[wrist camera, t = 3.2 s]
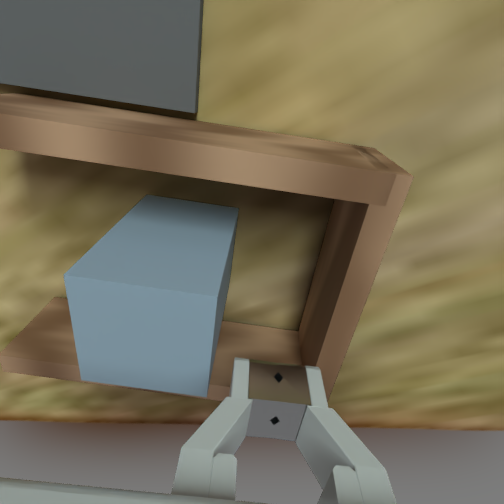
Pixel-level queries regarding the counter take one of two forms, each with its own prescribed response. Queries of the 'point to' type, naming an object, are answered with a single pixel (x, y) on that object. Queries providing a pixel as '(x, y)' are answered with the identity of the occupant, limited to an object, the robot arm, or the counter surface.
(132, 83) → the pad
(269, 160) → the frame
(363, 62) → the counter surface
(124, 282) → the block
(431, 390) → the counter surface
